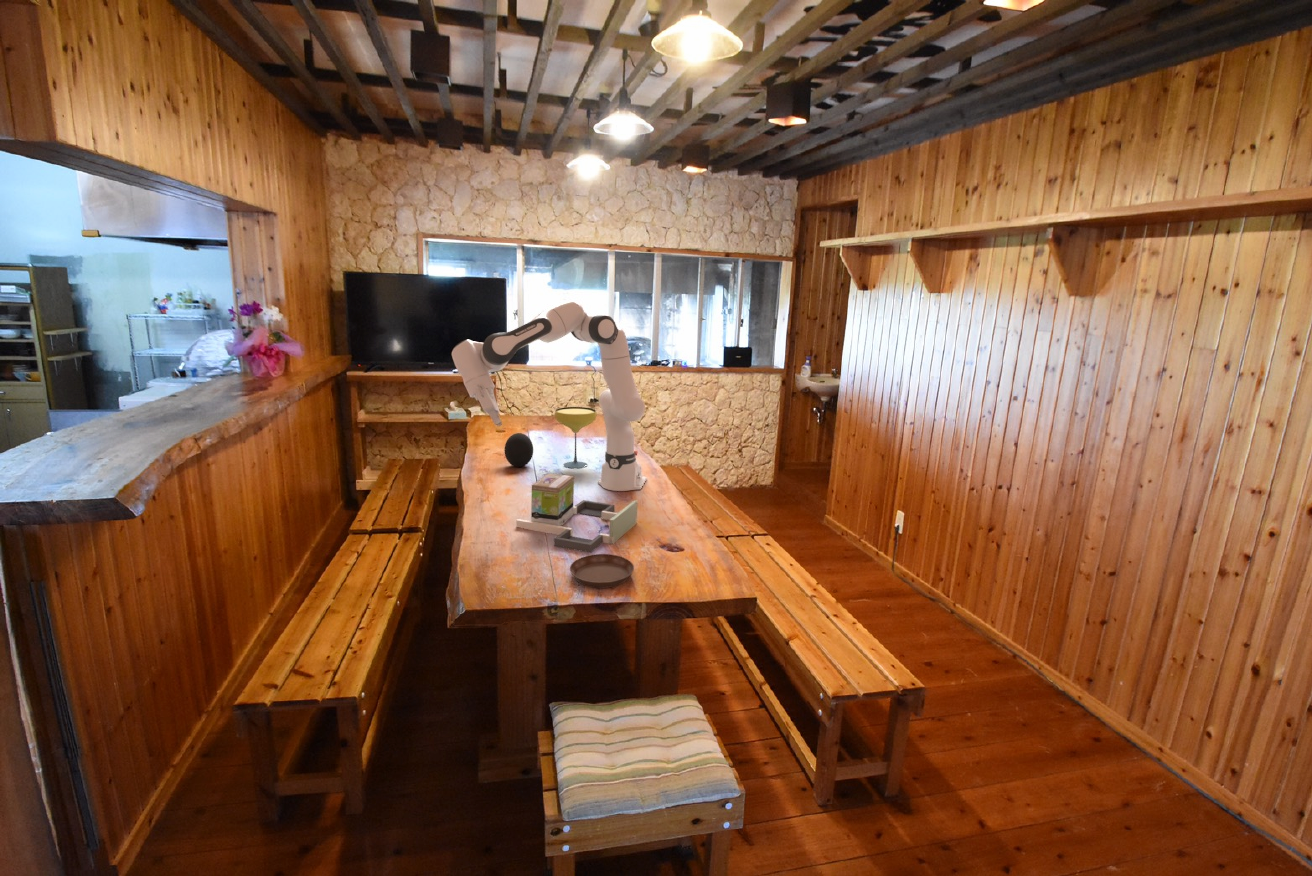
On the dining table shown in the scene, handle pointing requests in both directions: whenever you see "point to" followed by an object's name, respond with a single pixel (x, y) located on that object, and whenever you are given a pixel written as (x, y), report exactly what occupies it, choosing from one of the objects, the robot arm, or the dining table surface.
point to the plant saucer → (602, 570)
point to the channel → (617, 520)
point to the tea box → (552, 499)
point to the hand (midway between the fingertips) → (498, 424)
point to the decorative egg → (518, 450)
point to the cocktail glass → (575, 425)
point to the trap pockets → (582, 543)
